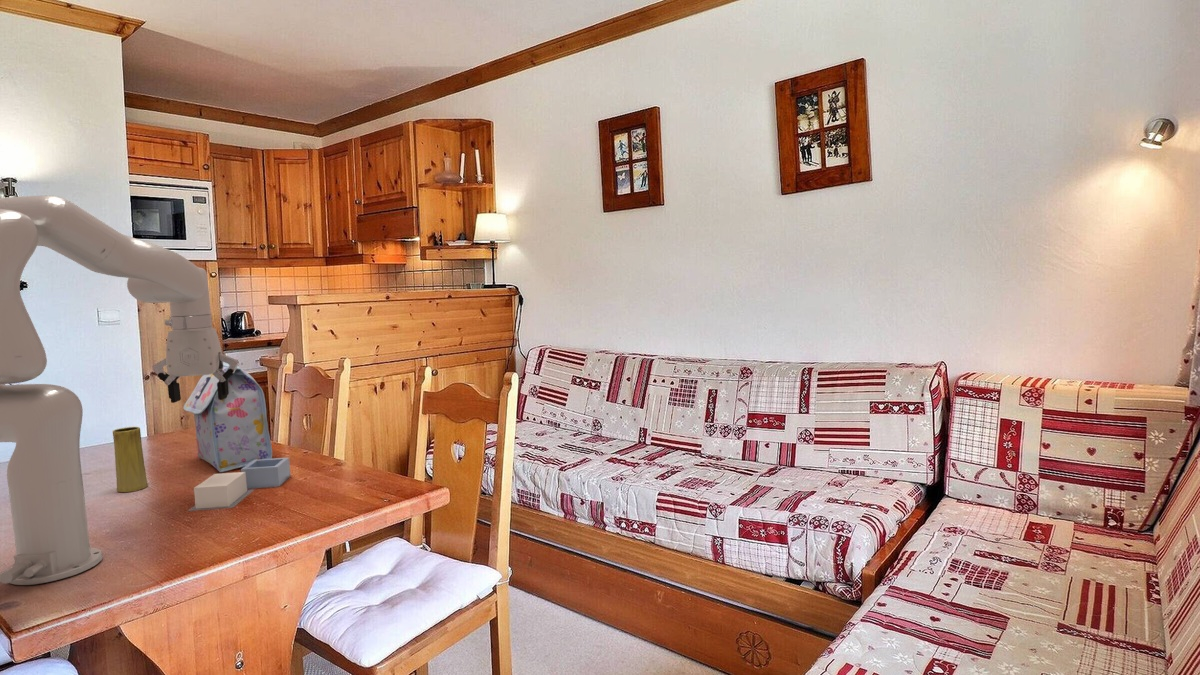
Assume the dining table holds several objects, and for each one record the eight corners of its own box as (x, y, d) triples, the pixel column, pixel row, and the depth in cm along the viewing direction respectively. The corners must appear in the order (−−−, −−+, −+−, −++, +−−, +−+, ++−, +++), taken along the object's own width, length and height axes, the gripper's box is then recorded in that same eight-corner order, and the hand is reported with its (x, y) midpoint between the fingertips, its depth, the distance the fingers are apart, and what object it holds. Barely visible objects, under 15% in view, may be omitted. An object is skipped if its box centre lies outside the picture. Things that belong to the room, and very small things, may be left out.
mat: (233, 509, 140) (232, 507, 140) (187, 512, 139) (187, 510, 139) (254, 491, 152) (254, 489, 152) (212, 494, 150) (212, 492, 150)
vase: (131, 493, 153) (125, 432, 152) (109, 492, 154) (103, 432, 153) (154, 484, 159) (148, 426, 158) (132, 484, 160) (126, 426, 159)
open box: (279, 488, 153) (277, 466, 153) (242, 490, 152) (240, 469, 152) (290, 477, 161) (289, 457, 161) (255, 480, 160) (254, 459, 160)
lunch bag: (185, 460, 181) (176, 363, 178) (252, 447, 192) (245, 356, 189) (204, 477, 164) (195, 370, 162) (277, 462, 175) (269, 362, 173)
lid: (228, 506, 141) (226, 485, 140) (195, 508, 140) (193, 487, 139) (247, 491, 150) (245, 471, 150) (216, 493, 150) (214, 473, 149)
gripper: (140, 327, 141) (148, 406, 143) (227, 323, 144) (235, 400, 146) (157, 324, 148) (165, 399, 150) (240, 320, 151) (247, 394, 153)
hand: (199, 400), depth 148 cm, fingers open, 9 cm apart
